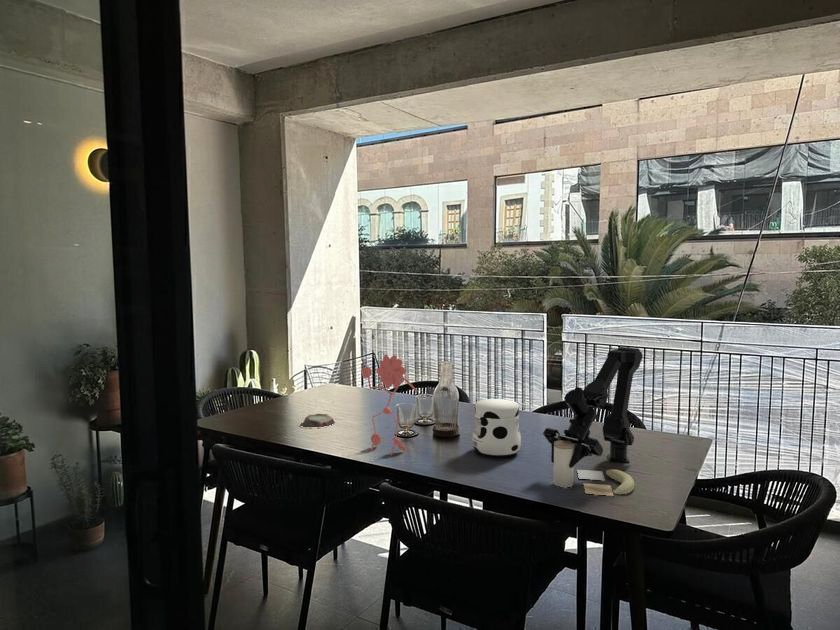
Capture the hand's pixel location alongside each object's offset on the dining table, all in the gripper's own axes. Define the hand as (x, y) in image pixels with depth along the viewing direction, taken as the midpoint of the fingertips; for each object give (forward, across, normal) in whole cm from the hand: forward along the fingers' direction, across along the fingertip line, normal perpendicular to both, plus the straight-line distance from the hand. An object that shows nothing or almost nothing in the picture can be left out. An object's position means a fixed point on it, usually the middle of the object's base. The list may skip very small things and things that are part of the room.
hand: (561, 464), depth 180 cm
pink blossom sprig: (+15, +63, +5) cm, 65 cm away
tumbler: (+4, 0, -6) cm, 7 cm away
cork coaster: (+1, -10, -8) cm, 13 cm away
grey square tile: (-5, -2, -15) cm, 16 cm away
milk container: (-2, +34, -12) cm, 36 cm away
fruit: (-4, -12, -15) cm, 19 cm away
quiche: (+17, +111, +6) cm, 112 cm away
